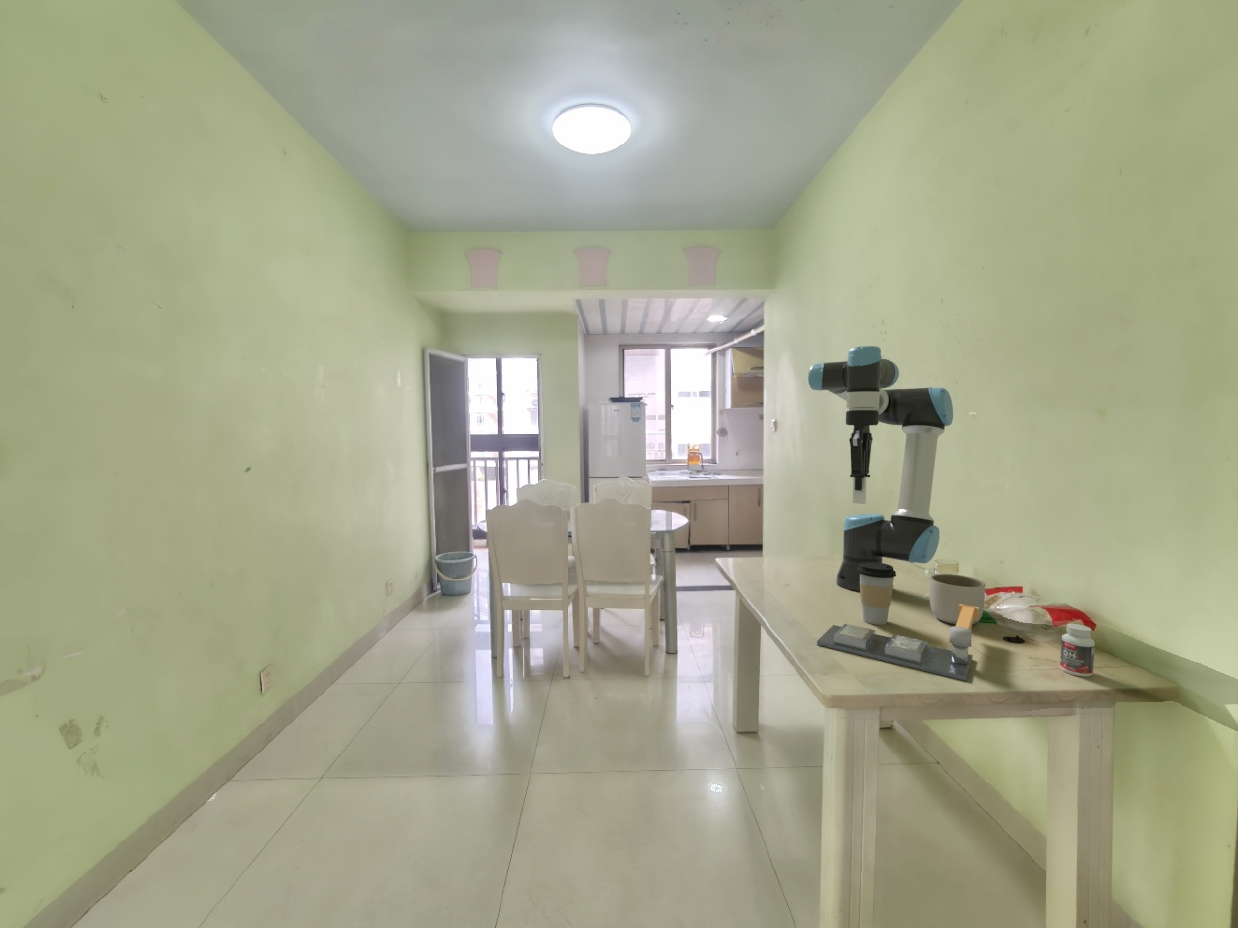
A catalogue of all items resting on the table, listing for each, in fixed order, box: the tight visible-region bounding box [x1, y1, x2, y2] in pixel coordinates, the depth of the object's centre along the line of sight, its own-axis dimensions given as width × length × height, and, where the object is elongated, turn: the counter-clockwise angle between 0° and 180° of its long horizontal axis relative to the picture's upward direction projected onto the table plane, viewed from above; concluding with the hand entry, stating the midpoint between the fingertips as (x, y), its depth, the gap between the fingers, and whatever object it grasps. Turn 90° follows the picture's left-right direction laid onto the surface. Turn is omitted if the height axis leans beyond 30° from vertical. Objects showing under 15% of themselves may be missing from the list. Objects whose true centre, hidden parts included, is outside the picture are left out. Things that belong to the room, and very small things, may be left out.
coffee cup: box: [857, 562, 897, 626], centre depth 145 cm, size 9×9×15 cm
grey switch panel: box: [816, 623, 974, 682], centre depth 125 cm, size 13×30×5 cm, turn 53°
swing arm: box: [948, 604, 979, 648], centre depth 125 cm, size 22×4×3 cm, turn 143°
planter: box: [929, 573, 986, 625], centre depth 146 cm, size 12×12×11 cm
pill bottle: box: [1059, 623, 1096, 678], centre depth 115 cm, size 5×5×10 cm
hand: (859, 502), depth 138 cm, fingers closed
